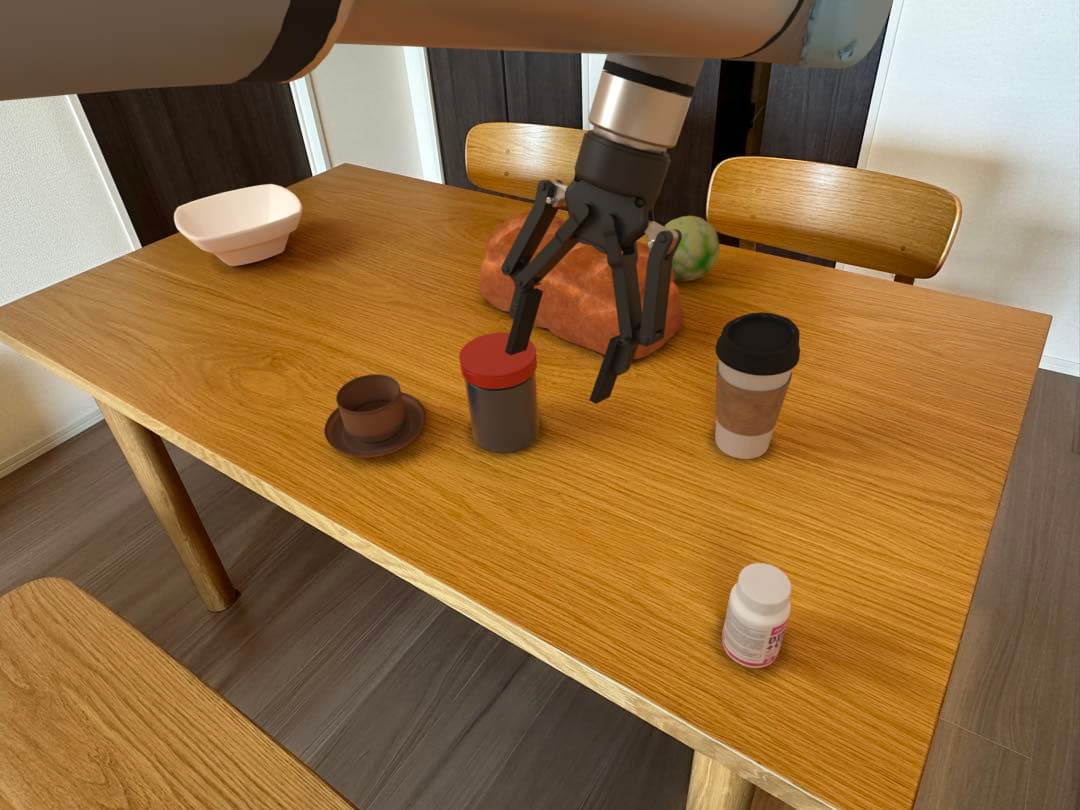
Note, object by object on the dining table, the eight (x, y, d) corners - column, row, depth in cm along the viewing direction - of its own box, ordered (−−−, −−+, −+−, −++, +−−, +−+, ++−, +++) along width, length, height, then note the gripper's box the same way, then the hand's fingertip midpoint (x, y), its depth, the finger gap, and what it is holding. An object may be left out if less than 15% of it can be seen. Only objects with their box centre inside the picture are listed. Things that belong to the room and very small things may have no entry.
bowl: (206, 293, 115) (188, 245, 110) (182, 250, 129) (164, 206, 124) (326, 257, 123) (314, 211, 118) (291, 221, 137) (278, 178, 132)
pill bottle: (773, 678, 57) (790, 617, 51) (715, 657, 58) (726, 596, 53) (783, 631, 60) (801, 569, 55) (728, 613, 62) (740, 551, 57)
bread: (537, 263, 117) (533, 187, 109) (695, 323, 100) (704, 239, 92) (469, 299, 109) (458, 220, 101) (628, 373, 91) (631, 284, 83)
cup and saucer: (308, 439, 84) (294, 399, 80) (384, 391, 91) (375, 352, 87) (371, 481, 77) (359, 440, 74) (448, 426, 84) (441, 385, 81)
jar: (507, 462, 79) (499, 388, 72) (458, 434, 83) (447, 362, 77) (552, 426, 83) (549, 354, 77) (504, 402, 88) (496, 331, 81)
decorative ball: (695, 299, 105) (701, 237, 99) (641, 281, 110) (643, 221, 104) (728, 274, 111) (735, 214, 105) (674, 258, 116) (678, 200, 110)
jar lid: (499, 337, 82) (497, 324, 81) (553, 362, 77) (552, 348, 76) (445, 370, 77) (443, 356, 76) (499, 398, 73) (498, 385, 71)
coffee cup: (796, 448, 78) (823, 335, 69) (739, 477, 75) (759, 363, 66) (743, 410, 84) (761, 301, 75) (688, 435, 81) (700, 325, 71)
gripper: (767, 184, 56) (670, 417, 66) (548, 104, 65) (494, 320, 75) (735, 185, 50) (634, 441, 60) (499, 97, 59) (447, 332, 69)
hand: (556, 374), depth 68 cm, fingers open, 10 cm apart
